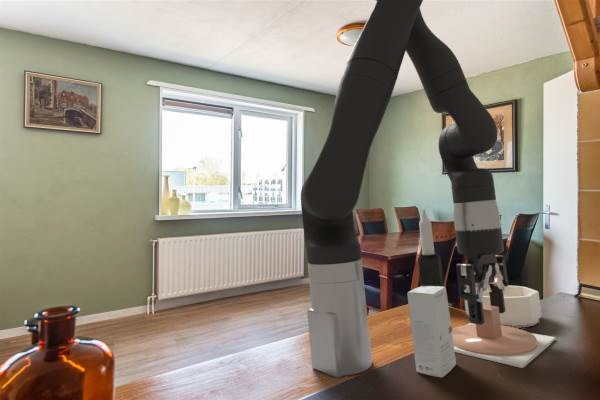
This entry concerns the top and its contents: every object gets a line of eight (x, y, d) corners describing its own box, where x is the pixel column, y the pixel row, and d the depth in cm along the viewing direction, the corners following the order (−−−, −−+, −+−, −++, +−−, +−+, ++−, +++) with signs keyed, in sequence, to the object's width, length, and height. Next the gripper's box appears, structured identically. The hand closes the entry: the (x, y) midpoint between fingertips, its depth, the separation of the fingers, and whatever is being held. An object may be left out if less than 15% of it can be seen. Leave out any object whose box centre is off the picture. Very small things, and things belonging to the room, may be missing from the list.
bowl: (525, 333, 65) (521, 300, 66) (458, 321, 76) (454, 293, 76) (548, 316, 74) (544, 288, 74) (485, 308, 84) (481, 283, 84)
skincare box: (444, 379, 50) (434, 293, 51) (414, 372, 53) (405, 292, 54) (457, 363, 55) (448, 285, 56) (429, 358, 58) (421, 284, 59)
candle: (443, 310, 86) (431, 208, 87) (422, 309, 88) (411, 210, 90) (446, 305, 90) (435, 208, 92) (426, 304, 93) (415, 210, 94)
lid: (518, 362, 52) (513, 323, 53) (432, 343, 63) (429, 310, 64) (549, 337, 61) (544, 303, 62) (469, 323, 72) (466, 295, 72)
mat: (522, 368, 52) (522, 364, 52) (430, 346, 63) (429, 343, 63) (555, 340, 61) (555, 337, 61) (469, 325, 73) (469, 323, 73)
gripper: (480, 229, 56) (493, 332, 55) (515, 223, 65) (527, 311, 64) (437, 230, 62) (448, 324, 61) (474, 225, 71) (484, 306, 70)
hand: (488, 317), depth 62 cm, fingers open, 8 cm apart
